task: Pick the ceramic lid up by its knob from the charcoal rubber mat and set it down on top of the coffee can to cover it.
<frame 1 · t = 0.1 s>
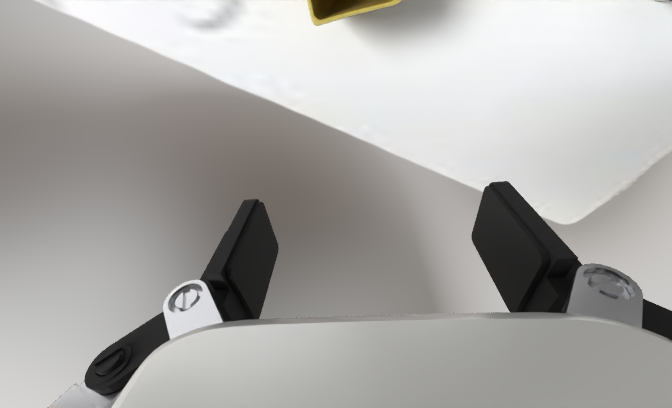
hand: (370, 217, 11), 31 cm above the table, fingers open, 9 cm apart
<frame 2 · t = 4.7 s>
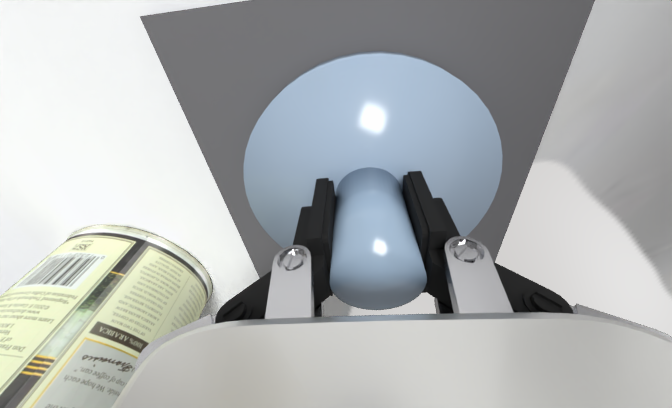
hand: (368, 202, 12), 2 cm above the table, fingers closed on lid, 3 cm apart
lid: (366, 183, 14), resting on mat, touching gripper
coffee can: (146, 271, 20), on the table
mat: (366, 178, 14), on the table
when the fingers open (17 cm above the table, at t = 8.6 s): lid drops 1 cm, resting on coffee can.
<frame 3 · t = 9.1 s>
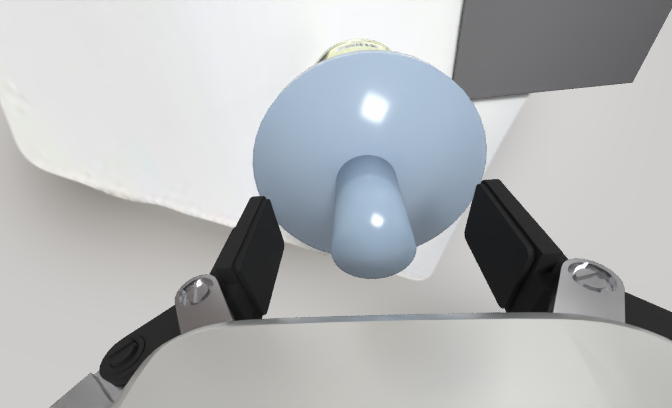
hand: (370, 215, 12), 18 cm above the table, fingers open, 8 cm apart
lid: (364, 170, 15), point 14 cm above the table, touching coffee can
coffee can: (357, 98, 26), on the table, touching lid
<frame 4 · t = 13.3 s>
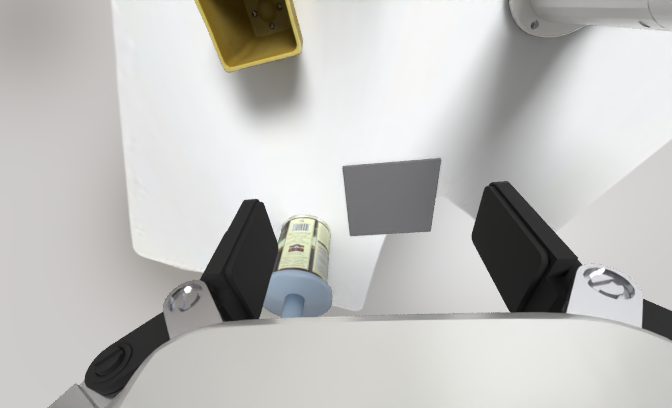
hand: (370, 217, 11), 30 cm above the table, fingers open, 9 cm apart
flower pot: (268, 11, 32), on the table
lid: (295, 293, 43), point 14 cm above the table, touching coffee can
coffee can: (306, 232, 54), on the table, touching lid
mat: (390, 200, 48), on the table
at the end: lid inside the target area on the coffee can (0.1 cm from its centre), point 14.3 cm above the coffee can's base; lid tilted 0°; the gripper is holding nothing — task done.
